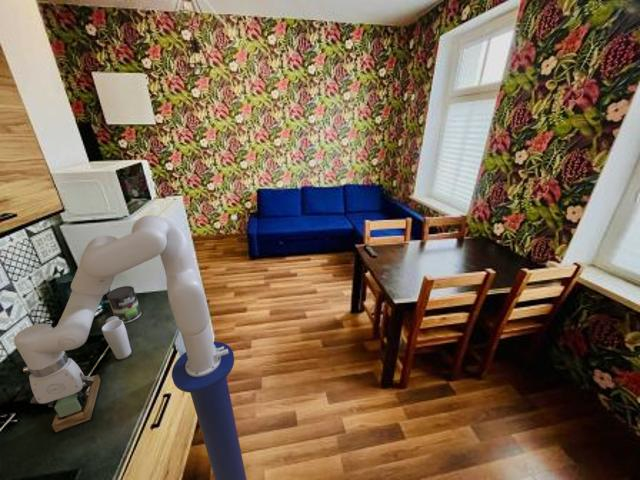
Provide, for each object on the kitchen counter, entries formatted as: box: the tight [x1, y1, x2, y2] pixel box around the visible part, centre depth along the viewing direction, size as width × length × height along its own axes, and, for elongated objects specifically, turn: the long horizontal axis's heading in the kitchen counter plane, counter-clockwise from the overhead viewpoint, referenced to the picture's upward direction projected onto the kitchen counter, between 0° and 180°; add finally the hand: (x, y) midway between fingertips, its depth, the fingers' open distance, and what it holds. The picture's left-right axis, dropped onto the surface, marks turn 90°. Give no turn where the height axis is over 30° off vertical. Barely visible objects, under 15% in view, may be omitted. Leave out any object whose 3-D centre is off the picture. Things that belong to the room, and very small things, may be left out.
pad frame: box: [51, 374, 101, 433], centre depth 87 cm, size 8×16×3 cm, turn 28°
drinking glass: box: [101, 320, 132, 360], centre depth 104 cm, size 7×7×15 cm
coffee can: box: [106, 285, 142, 324], centre depth 125 cm, size 10×10×14 cm
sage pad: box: [55, 394, 82, 418], centre depth 82 cm, size 5×5×4 cm
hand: (72, 406), depth 83 cm, fingers closed on sage pad, 5 cm apart
